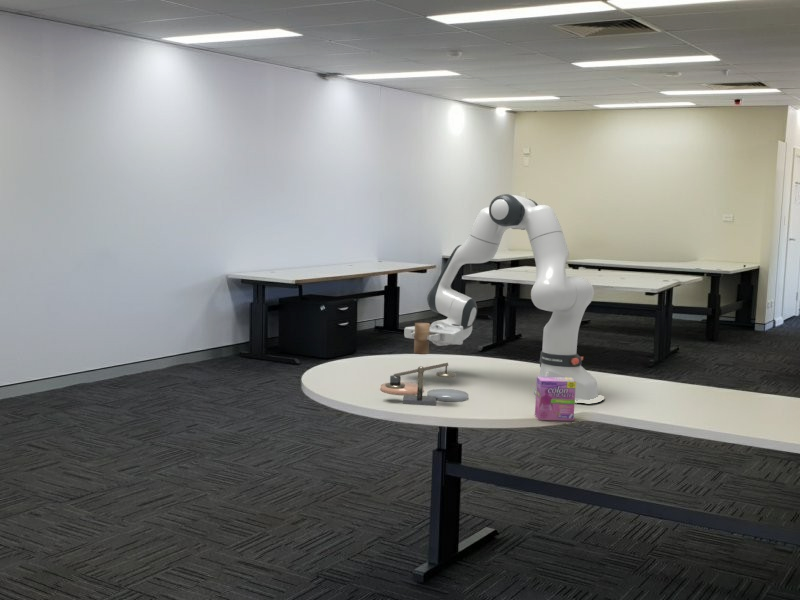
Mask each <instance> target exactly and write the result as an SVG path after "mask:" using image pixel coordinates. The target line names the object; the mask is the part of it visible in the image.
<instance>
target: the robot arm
mask: <svg viewBox="0 0 800 600" xmlns="http://www.w3.org/2000/svg"><path fill="white" fill-rule="evenodd" d="M508 229H512V230H521V231H522V230H523V231H524V230H525V231H526V233H527V237H528V240H529V243H530V247H531V251H532V254H533V257H534V261H535V268H536V269H535V271H536V275H535V282H534V284H533V286H532V288H531V291H530V296H531V297H530V299H531V302H532V303H533V305H534V306H535V308H537V309H539V310H543V311H547V312H552V314H551V317H550V318H549V320H548V322H547V323H546V324H545V326H544V327H543V330H542V331H543V334H542V350H541V351H540V356H539V357H540V358H539V368H540V369H539V376H538V377H564V378H573V379H574V380H575V381H576V390H575V400H576V401H578V400H590V399H594V398H596V397H598V394H599V386H598V385H599V384H598V381H597V379H596V378H595V377H594V376H592V374H590V372H588V371H587V370H586V369H585V368H584V367H583V366H582V363H583V362H582V361H583V360H584V356H580V355H579V354H578V353H577V351H578V350H577V349H578V347H577V346H578V339H579V338H578V336H579V330H580V326H581V323H582V319H583V317H584V314H585V311H586V310H587V307H588V306H589V305H590V304H591V303H592V301H593V300H594V296H595V290H594V289H595V288H594V286H593V284H592V283H591V282H590V281H589V280H588V279H586V278H584V277H580V276H576V275H571V276H570V275H569V276H568V275H567V272H566V263H567V261H568V260H569V256H570V253H569V249H568V245H567V243H566V239H565V236H564V233H563V229H562V226H561V223H560V221H559V219H558V216H557V214H556V213H555V211H554V209H553V208H552V207H551V206H549V205H547V204H538V203H537V202H536V201H535V200H533V199H531V198H526V197H524V196H522V195H521V196H520V195H515V194H509V193H508V194H507V193H506V194H505V193H503V194H499V195H497V196H495V197H494V198H493V199H492V200H491V202H490V203H489V206H488V207H487V206H486V207H484V208H482V209H480V211H479V212H478V214H477V216H476V218H475V220H474V222H473V224H472V226H471V228H470V230H469V234H468V237H467V238H466V240H465V241H464V243H462V244H459V245H457V246H456V247H455V248H454V249H453V251H452V253H451V254H450V255H449V258H448V259H447V261H446V263H445V265H444V267H443V268H442V271H441V273H440V275H439V276H438V278H437V280H436V282H435V283H434V285H433V286H432V288H431V289H430V291H429V293H428V295H427V297H426V301H427V305H428V307H429V310H430V311H432V312H435V313H437V314H440V315H443V316H445V317H447V318H446V319H441V320H439V319H438V320H436V321H435V320H434V321H433V322H432V323H431V324H430V332H429V335H427V340H429V342H431V343H432V344H434V345H435V346H438V347H441V346H442V347H444V346H448V345H449V346H450V345H452V346H453V345H454V346H460V345H463V343H464V340H467V338H469V336H471V334H472V331H473V324H474V323H475V321H476V318H477V314H478V306H477V302H476V300H475V299H474V298H472V297H470V296H468V295H466V294H464V293H461V292H460V291H459V292H458V291H457V290H454V289H453V288H452V287H451V286H452V283H453V281H454V280H455V278H456V276H457V274H458V272H459V270H460V268H461V267H462V266H463V265H466V264H467V265H468V264H484V263H487V262H489V261H491V260H492V259H493V258H495V255H497V252H498V250H499V247H500V243H501V240H502V238H503V235H504V233H505V232H506V230H508ZM403 330H404V331H403V332H404V333H403V335H404V338H406V339H414V334H415V325H413V326H405V327H404V329H403ZM534 394H535V395H536V389H535V391H534Z"/></svg>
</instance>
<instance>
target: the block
mask: <svg viewBox="0 0 800 600" xmlns="http://www.w3.org/2000/svg"><path fill="white" fill-rule="evenodd" d="M430 325H431V324H430V323H429V322H415V323H414V326H415V334H414V340H413V341H414V342H413V353H414V354H415V355H428V354H430V341H429V340H427V335H429V332H430Z"/></svg>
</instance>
